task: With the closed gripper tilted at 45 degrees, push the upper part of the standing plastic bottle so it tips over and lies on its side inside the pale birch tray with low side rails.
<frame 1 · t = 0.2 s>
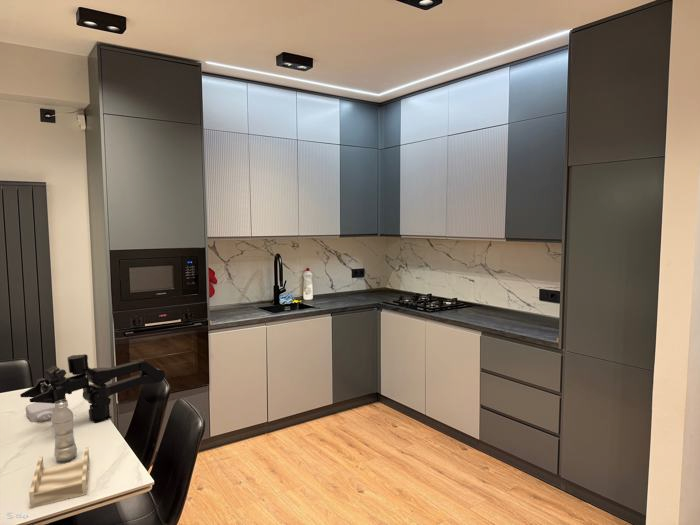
hand: (25, 398, 179), 17 cm above the table, tool horizontal, fingers open, 9 cm apart
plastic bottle: (66, 459, 168), on the table
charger: (43, 418, 203), on the table
tray: (62, 481, 153), on the table
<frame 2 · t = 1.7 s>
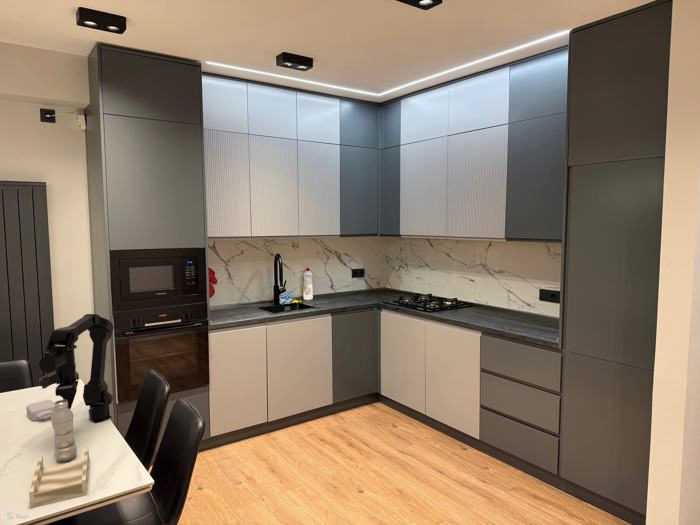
hand: (69, 406, 180), 13 cm above the table, tool pointing down, fingers open, 6 cm apart
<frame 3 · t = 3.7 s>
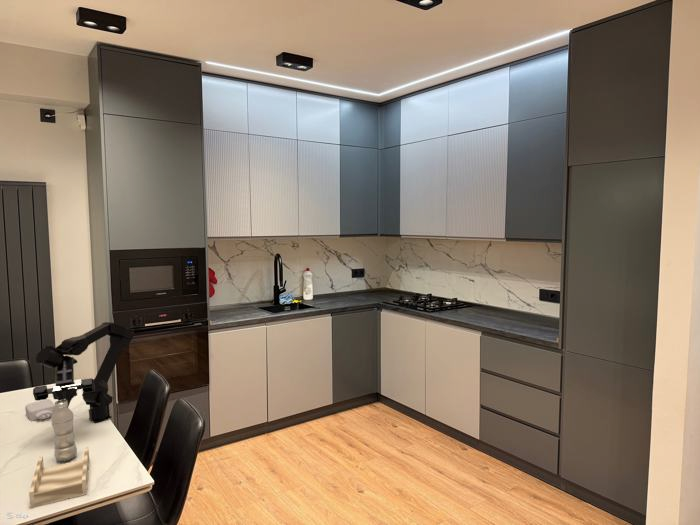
hand: (65, 411, 174), 14 cm above the table, tool tilted 45°, fingers closed
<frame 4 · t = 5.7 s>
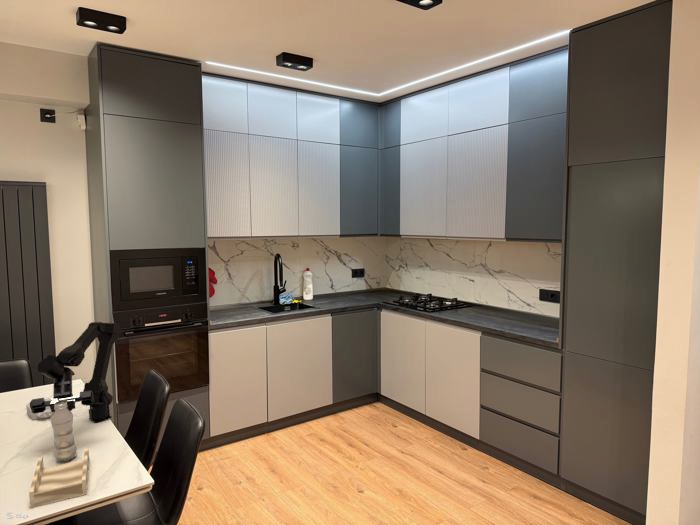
hand: (62, 424, 169), 11 cm above the table, tool tilted 45°, fingers closed
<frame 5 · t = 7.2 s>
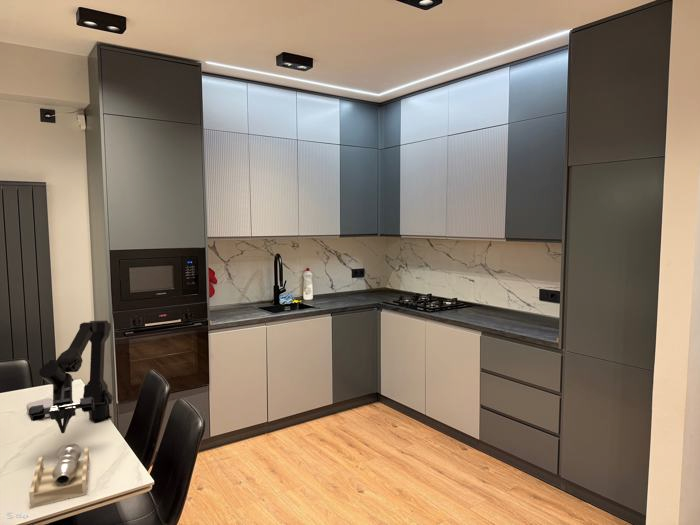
hand: (62, 432, 164), 11 cm above the table, tool tilted 45°, fingers closed
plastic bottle: (70, 450, 166), point 4 cm above the table, touching tray
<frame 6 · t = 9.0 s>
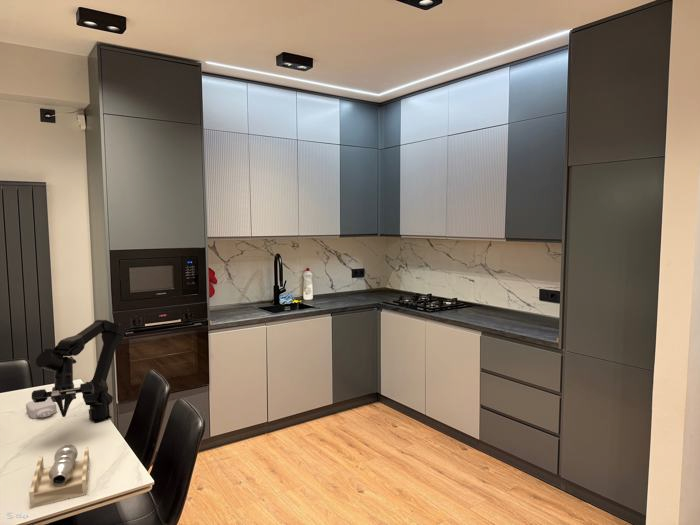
hand: (63, 416, 173), 12 cm above the table, tool tilted 35°, fingers closed
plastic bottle: (67, 451, 165), point 4 cm above the table, touching tray
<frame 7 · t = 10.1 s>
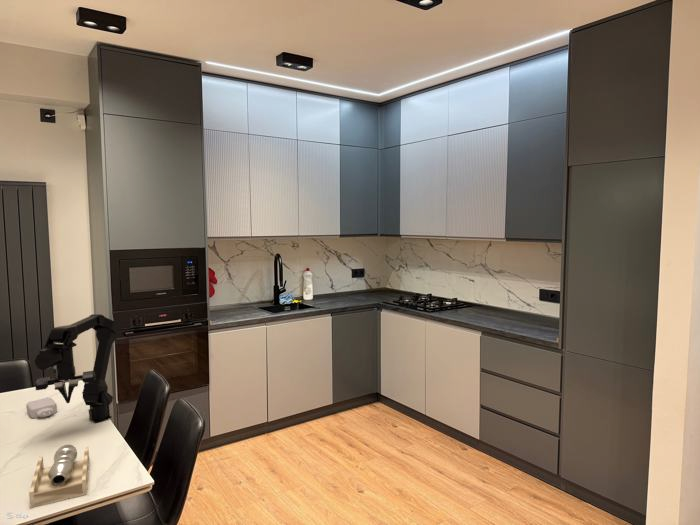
hand: (68, 402, 183), 13 cm above the table, tool pointing down, fingers closed
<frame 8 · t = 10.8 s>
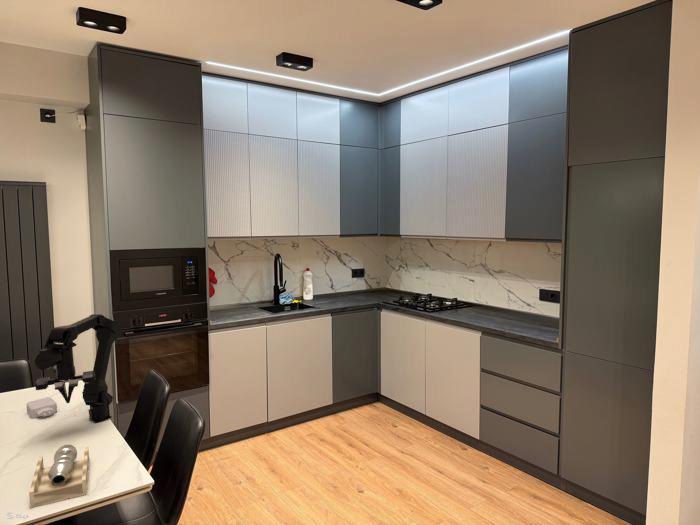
hand: (68, 402, 183), 13 cm above the table, tool pointing down, fingers closed
at the end: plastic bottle tilted 89°; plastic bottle touching tray; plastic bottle inside the target area (12.3 cm from its centre), point 3.5 cm above the table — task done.
